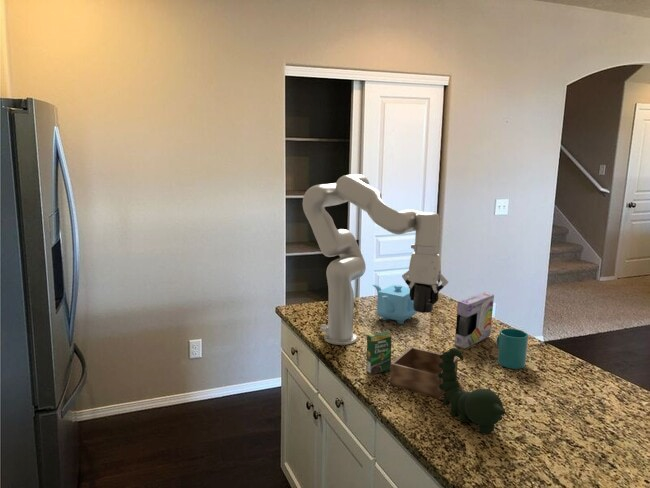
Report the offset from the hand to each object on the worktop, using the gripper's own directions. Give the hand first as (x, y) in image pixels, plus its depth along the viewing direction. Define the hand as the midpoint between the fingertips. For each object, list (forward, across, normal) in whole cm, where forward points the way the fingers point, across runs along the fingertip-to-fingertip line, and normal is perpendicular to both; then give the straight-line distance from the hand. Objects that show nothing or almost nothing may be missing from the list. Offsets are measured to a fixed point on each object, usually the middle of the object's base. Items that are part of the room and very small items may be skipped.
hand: (423, 300), depth 171 cm
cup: (+22, +26, +15) cm, 37 cm away
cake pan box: (+22, +10, +27) cm, 36 cm away
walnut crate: (+22, +7, -15) cm, 27 cm away
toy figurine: (+22, +26, -30) cm, 45 cm away
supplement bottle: (+4, 0, 0) cm, 4 cm away
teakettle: (+22, -25, +35) cm, 48 cm away
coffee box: (+22, -8, -16) cm, 28 cm away
